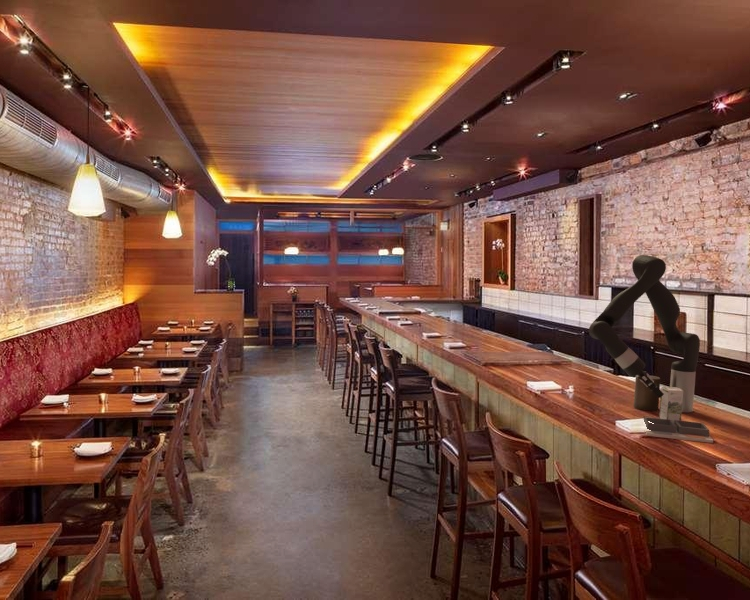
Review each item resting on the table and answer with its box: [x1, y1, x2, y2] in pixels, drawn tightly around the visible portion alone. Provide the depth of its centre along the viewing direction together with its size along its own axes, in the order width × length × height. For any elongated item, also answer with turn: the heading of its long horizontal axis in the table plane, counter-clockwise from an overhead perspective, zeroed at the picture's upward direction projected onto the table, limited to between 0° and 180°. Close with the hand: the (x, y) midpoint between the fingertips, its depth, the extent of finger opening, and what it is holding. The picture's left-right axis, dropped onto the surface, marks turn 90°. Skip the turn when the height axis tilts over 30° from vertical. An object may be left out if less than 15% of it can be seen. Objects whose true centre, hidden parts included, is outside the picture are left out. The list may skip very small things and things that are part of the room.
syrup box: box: [658, 386, 683, 423], centre depth 225 cm, size 6×6×14 cm
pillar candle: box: [633, 375, 661, 412], centre depth 250 cm, size 10×10×15 cm
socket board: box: [642, 416, 714, 444], centre depth 214 cm, size 14×21×4 cm, turn 73°
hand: (659, 393), depth 226 cm, fingers open, 8 cm apart
